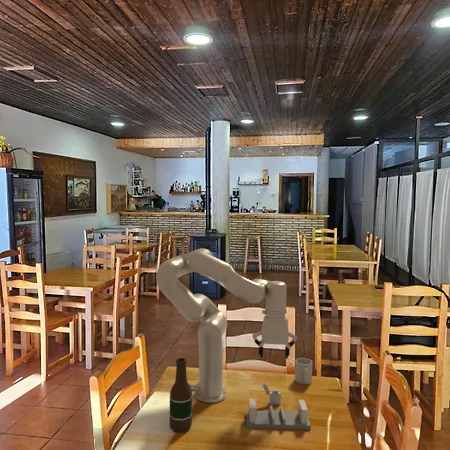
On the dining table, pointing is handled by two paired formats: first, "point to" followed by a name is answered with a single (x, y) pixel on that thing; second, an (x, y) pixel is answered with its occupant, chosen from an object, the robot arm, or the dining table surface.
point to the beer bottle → (181, 400)
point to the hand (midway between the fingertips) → (273, 356)
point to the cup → (303, 371)
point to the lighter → (273, 395)
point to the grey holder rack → (278, 417)
